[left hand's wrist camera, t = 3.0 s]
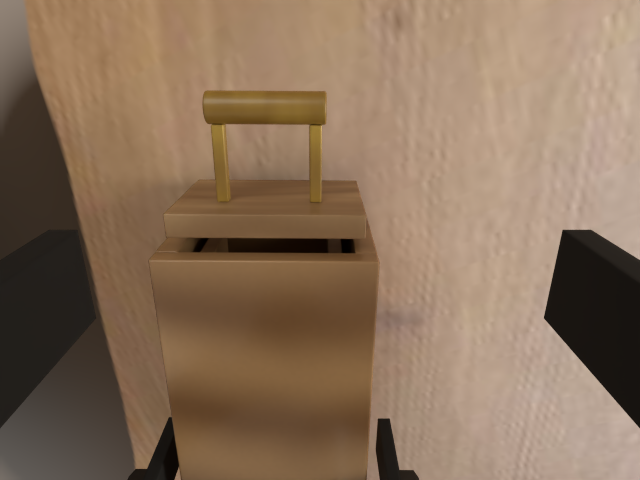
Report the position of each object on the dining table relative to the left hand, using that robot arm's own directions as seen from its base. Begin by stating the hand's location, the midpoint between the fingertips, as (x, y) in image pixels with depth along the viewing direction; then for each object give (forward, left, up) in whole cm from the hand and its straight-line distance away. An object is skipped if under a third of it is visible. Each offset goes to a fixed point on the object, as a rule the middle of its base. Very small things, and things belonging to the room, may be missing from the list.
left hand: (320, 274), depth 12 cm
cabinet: (+12, -1, -16) cm, 21 cm away
